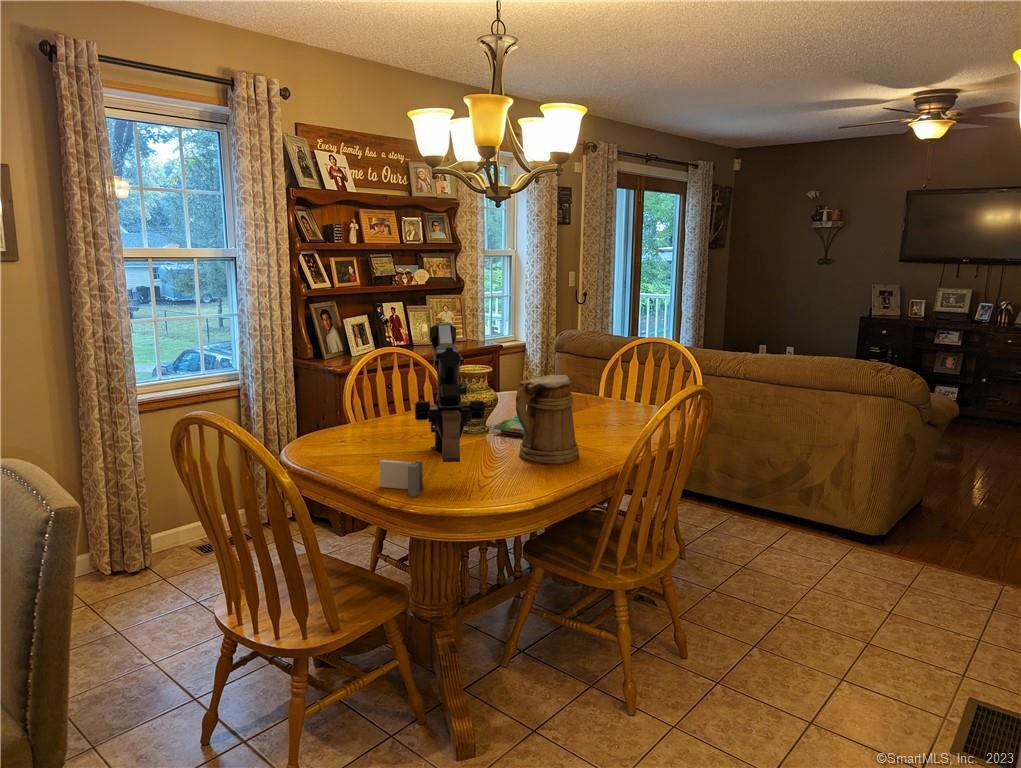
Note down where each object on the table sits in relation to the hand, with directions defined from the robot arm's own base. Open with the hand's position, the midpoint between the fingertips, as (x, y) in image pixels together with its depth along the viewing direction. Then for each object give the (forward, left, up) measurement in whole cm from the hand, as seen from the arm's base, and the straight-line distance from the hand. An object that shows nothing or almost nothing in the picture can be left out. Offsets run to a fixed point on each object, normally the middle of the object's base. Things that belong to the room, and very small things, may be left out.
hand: (451, 437), depth 187 cm
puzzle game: (-36, +50, -14) cm, 63 cm away
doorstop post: (-1, +1, -7) cm, 7 cm away
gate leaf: (-5, -12, -13) cm, 19 cm away
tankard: (-7, +37, -14) cm, 40 cm away
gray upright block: (+1, -12, -13) cm, 18 cm away
